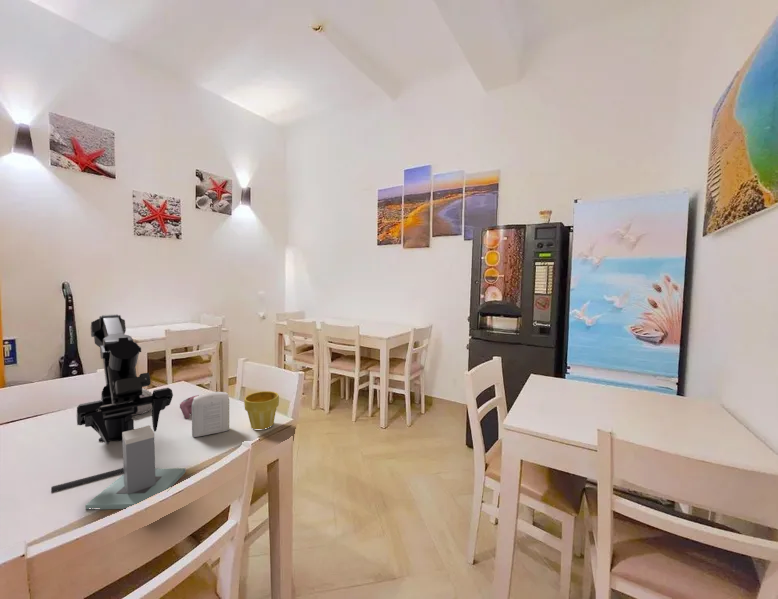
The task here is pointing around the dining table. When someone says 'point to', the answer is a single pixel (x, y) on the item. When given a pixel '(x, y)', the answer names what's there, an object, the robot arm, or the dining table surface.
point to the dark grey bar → (86, 479)
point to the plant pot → (261, 408)
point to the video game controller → (187, 406)
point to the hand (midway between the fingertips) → (132, 436)
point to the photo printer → (210, 413)
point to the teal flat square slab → (119, 498)
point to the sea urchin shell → (144, 407)
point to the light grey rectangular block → (138, 459)
